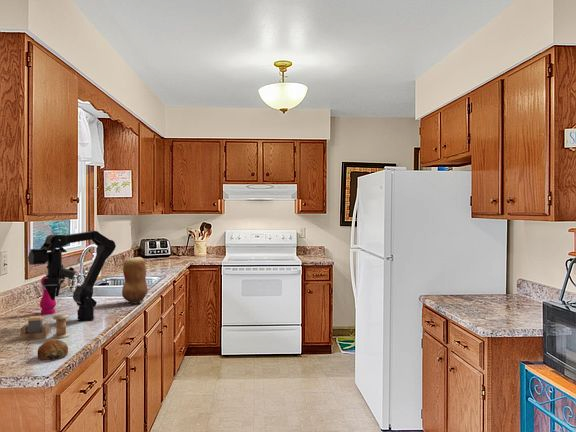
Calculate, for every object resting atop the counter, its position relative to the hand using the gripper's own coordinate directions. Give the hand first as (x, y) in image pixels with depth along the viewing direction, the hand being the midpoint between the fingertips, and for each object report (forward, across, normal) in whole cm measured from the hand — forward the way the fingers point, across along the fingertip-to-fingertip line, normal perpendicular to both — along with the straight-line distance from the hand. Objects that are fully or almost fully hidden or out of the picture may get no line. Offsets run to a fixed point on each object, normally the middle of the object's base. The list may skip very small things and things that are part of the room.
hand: (55, 298), depth 227 cm
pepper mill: (+12, +27, +8) cm, 31 cm away
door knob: (+12, -22, -6) cm, 26 cm away
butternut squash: (+12, +44, -33) cm, 56 cm away
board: (+12, -18, +4) cm, 22 cm away
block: (+10, -20, +4) cm, 23 cm away
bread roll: (+12, -51, -8) cm, 53 cm away
